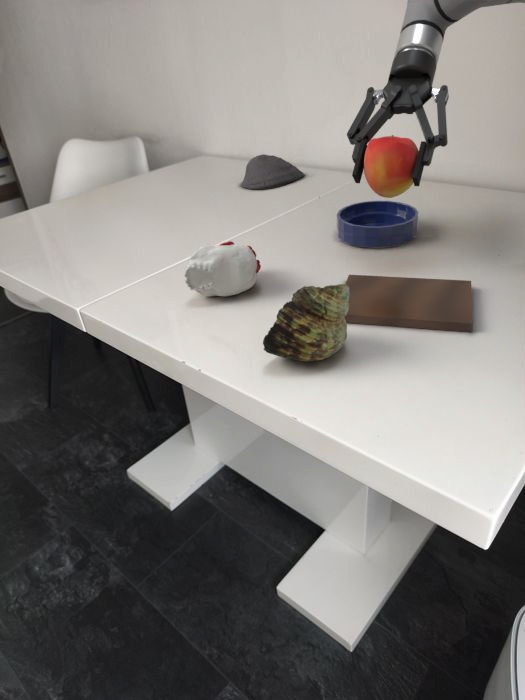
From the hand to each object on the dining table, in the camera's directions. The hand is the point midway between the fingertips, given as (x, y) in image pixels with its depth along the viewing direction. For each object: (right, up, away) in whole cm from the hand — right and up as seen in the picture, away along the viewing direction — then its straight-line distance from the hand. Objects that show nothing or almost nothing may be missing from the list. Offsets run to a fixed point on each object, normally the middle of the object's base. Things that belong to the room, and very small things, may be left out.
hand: (385, 180), depth 90 cm
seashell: (-14, -29, -13) cm, 35 cm away
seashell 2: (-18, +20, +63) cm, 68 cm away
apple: (+2, -1, +4) cm, 5 cm away
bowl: (+3, -4, +22) cm, 23 cm away
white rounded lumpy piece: (-26, -18, +6) cm, 32 cm away
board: (+2, -21, -4) cm, 22 cm away
